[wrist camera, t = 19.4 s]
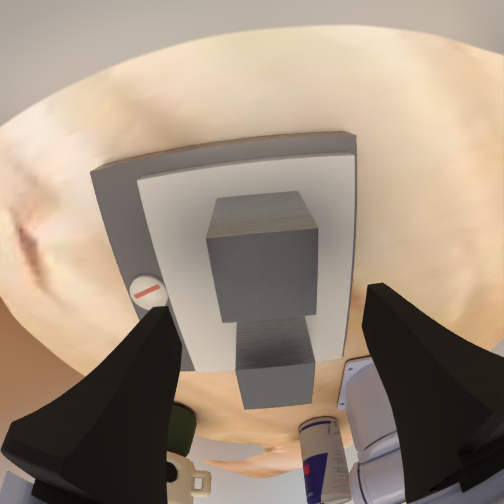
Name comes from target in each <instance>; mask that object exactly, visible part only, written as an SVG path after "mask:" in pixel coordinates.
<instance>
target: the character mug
mask: <svg viewBox="0 0 504 504" xmlns="http://www.w3.org/2000/svg"><path fill="white" fill-rule="evenodd" d="M196 424H197V423H196V418H195V417H194V415H193V414H192V413H191V412H190V411H188V410H186V409H184V408H182V407H180V406H176V405H173V406H172V411H171V416H170V421H169V428H168V442H167V468H166V472H167V499H168V504H193V497H194V496H195V497H207V496H209V495H210V492H211V473H210V472H208V471H197V470H195V467H194V464H193V462H191V461H190V460H189V459H187V458H185V457H186V456H187V455H188V453H189V451H190V448H191V444H192V441H193V437H194V433H195V429H196ZM195 478H202V488H201V489H194V483H195Z"/></svg>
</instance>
